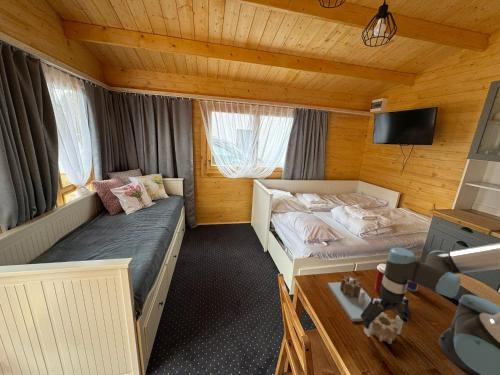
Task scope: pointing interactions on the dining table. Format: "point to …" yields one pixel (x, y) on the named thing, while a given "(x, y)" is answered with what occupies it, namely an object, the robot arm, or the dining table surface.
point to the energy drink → (412, 286)
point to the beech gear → (384, 328)
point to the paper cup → (379, 277)
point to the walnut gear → (350, 287)
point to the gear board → (351, 301)
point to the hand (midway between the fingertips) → (381, 332)
